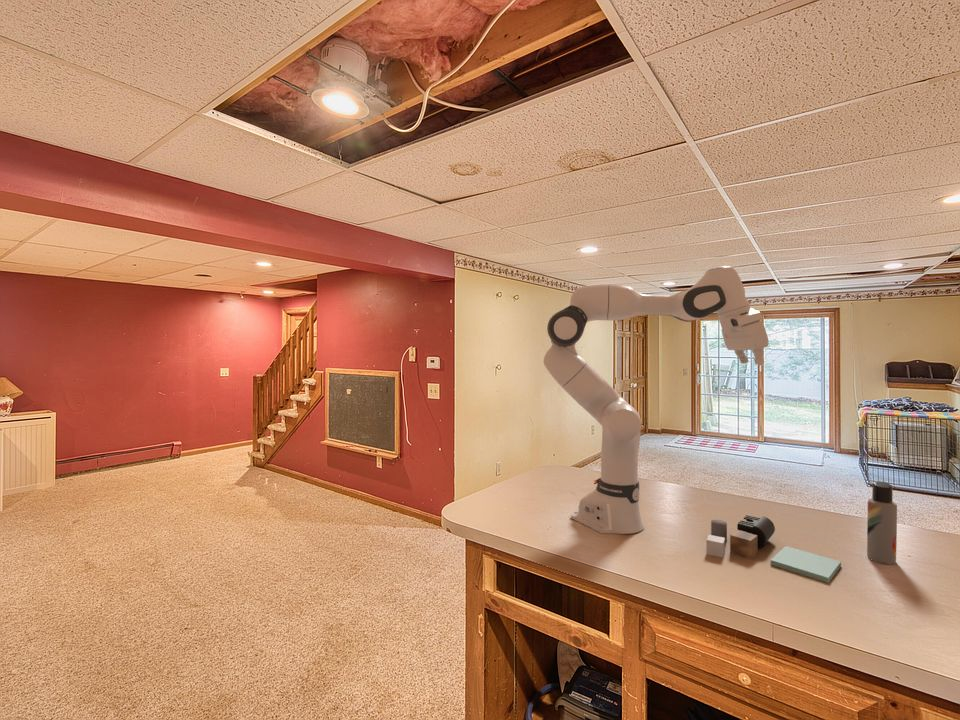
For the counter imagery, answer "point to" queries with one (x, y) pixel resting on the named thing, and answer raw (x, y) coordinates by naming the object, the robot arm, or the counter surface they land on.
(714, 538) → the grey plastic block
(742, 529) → the end cap
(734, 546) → the walnut block
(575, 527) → the counter surface
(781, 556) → the teal board
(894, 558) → the lotion bottle
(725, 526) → the grey rounded piece
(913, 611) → the counter surface
